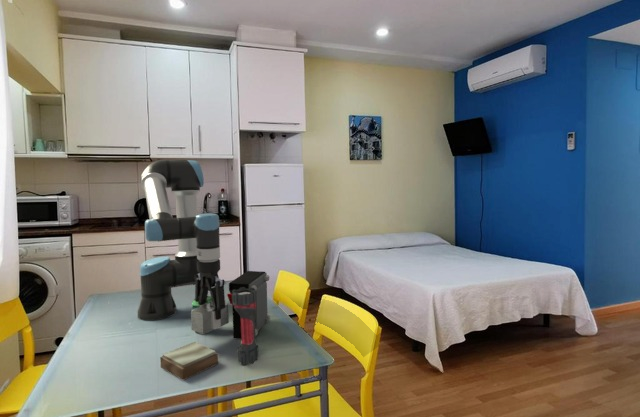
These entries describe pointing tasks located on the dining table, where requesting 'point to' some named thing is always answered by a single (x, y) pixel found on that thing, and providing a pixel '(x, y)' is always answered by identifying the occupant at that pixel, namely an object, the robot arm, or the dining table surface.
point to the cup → (195, 305)
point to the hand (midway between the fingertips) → (210, 325)
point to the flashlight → (246, 323)
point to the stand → (189, 360)
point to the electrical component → (260, 286)
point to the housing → (206, 318)
